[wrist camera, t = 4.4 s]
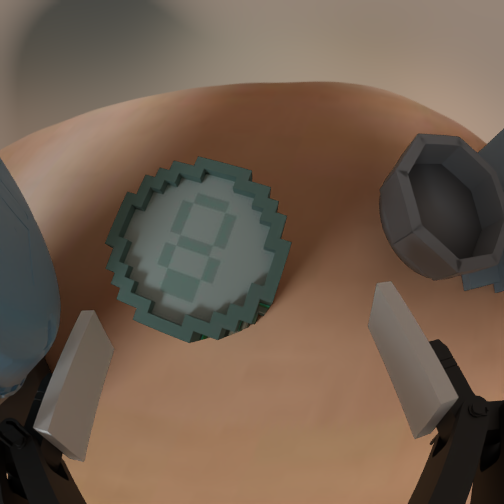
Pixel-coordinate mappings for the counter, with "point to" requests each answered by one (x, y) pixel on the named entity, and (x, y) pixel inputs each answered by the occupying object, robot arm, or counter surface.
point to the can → (198, 250)
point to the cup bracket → (448, 209)
